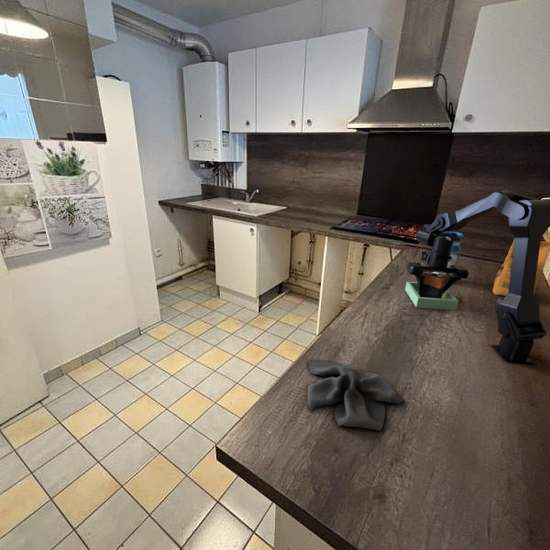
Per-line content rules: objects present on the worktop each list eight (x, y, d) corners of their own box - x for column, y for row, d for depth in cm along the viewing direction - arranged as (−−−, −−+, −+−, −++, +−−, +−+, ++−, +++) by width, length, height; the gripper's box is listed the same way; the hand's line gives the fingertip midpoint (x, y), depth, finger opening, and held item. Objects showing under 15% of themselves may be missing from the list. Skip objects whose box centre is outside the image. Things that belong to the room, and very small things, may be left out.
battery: (436, 303, 102) (443, 277, 98) (417, 296, 106) (423, 271, 103) (441, 299, 105) (448, 274, 101) (422, 293, 109) (428, 268, 105)
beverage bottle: (457, 281, 121) (471, 235, 114) (443, 284, 118) (455, 236, 111) (440, 274, 129) (452, 230, 121) (426, 276, 126) (437, 231, 118)
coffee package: (493, 285, 118) (511, 233, 110) (532, 295, 110) (555, 239, 102) (489, 293, 111) (508, 238, 103) (530, 304, 104) (555, 245, 95)
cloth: (408, 388, 65) (413, 367, 63) (381, 451, 51) (387, 426, 49) (320, 350, 77) (322, 330, 75) (279, 392, 63) (280, 370, 61)
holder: (456, 310, 99) (458, 301, 97) (415, 307, 100) (418, 298, 99) (440, 292, 111) (442, 284, 110) (405, 289, 113) (406, 281, 112)
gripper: (460, 245, 105) (449, 284, 111) (406, 242, 107) (398, 281, 113) (475, 255, 94) (462, 298, 101) (415, 251, 97) (406, 293, 103)
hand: (431, 292), depth 104 cm, fingers closed on battery, 7 cm apart
